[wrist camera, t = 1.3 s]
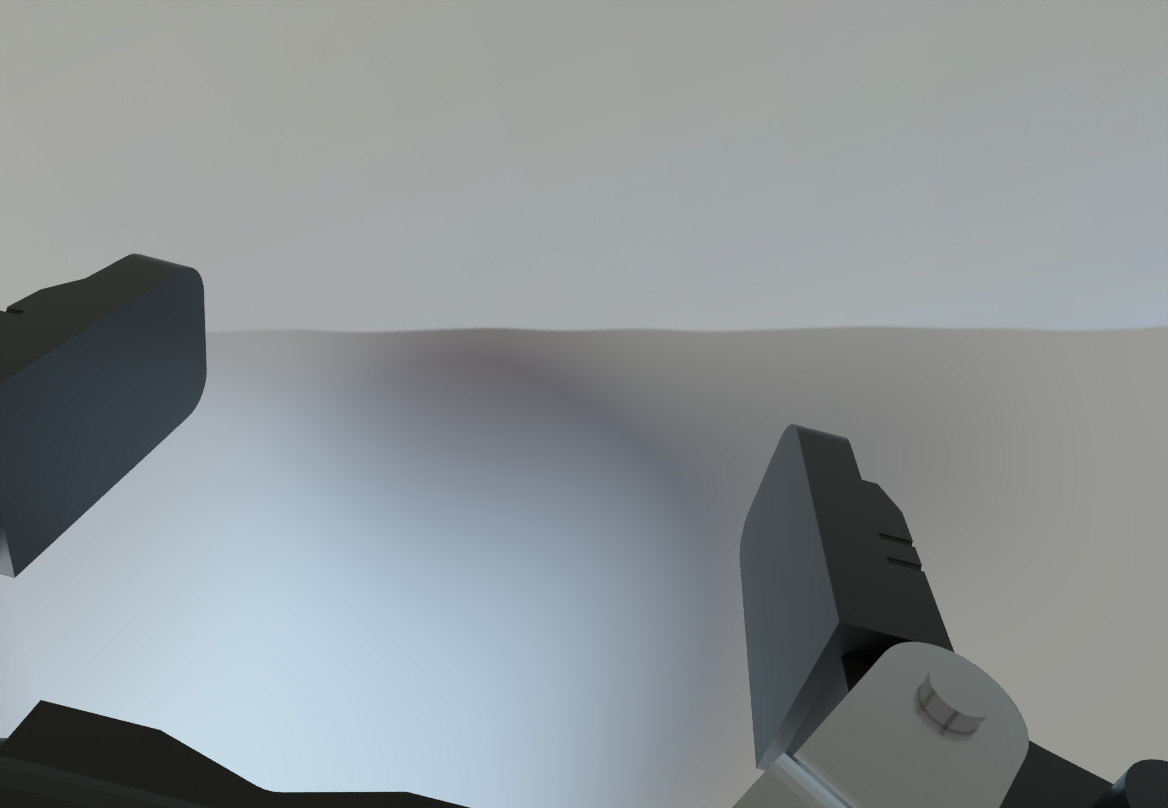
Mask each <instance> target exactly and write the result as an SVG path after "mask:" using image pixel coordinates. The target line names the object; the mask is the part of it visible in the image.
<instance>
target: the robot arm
mask: <svg viewBox="0 0 1168 808" xmlns="http://www.w3.org/2000/svg"><path fill="white" fill-rule="evenodd" d="M206 370H207V369H206V340H205V310H204V288H203V282H202V279H201V276H200V274H199V273H198V272H197V271H196V270H195V269H193V268H191V267H187V266H183V265H179V264H175V263H171V262H168V261H164V260H160V259H156V258H152V257H148V256H144V255H140V254H131V255H128V256H126V257H124V258H122V259H120V260H119V261H117V262H115V263H113V264H111V265H109V266H108V267H106V268H104V269H102V270H100V271H98V272H97V273H95V274H93V275H91V276H89V277H87V278H85V279H81V280H77V281H73V282H69V283H65V284H61V285H57V286H53V287H49V288H45V289H41V290H39V291H37V292H35V293H33V294H31V295H29V296H27V297H25V298H23V299H22V300H20V301H18V302H16V303H14V304H12V305H10V306H8V307H7V310H6V312H3V311H0V574H2V575H6V576H10V577H13V578H15V577H16V576H17V575H18V574H19V573H21V572H22V571H23V570H24V569H25V568H26V567H27V566H28V565H29V564H30V563H31V562H32V561H33V560H34V559H36V557H38V556H39V555H40V554H41V553H42V552H43V551H44V550H45V549H46V548H47V547H49V546H50V545H51V544H52V543H53V542H54V541H55V540H56V539H57V538H58V537H59V536H60V535H61V534H62V533H64V532H65V531H66V530H67V529H68V528H69V527H70V526H71V525H72V524H73V523H74V522H75V521H77V520H78V519H79V518H80V517H81V516H82V515H83V514H84V513H85V512H86V511H87V510H88V509H89V508H90V507H91V506H93V505H94V504H95V503H96V502H97V501H98V500H99V499H100V498H101V497H102V496H103V495H105V494H106V492H108V491H109V490H110V489H111V488H112V487H113V486H114V485H115V484H116V483H117V482H118V481H120V479H122V478H123V477H124V476H125V475H126V474H127V473H128V472H129V471H130V470H131V469H133V468H134V467H135V466H136V465H137V464H138V463H139V462H140V461H141V460H142V459H143V458H144V457H145V456H147V455H148V454H149V453H150V452H151V451H152V450H153V449H154V448H155V447H156V446H157V445H158V444H159V443H160V442H162V440H164V439H165V438H166V437H167V436H168V435H169V434H170V433H171V432H172V431H173V430H174V429H175V428H176V427H178V426H179V425H180V424H181V423H182V422H183V421H184V420H185V419H186V418H187V417H188V416H189V415H190V414H191V413H192V412H193V411H194V409H195V408H196V406H197V404H198V402H199V400H200V398H201V395H202V393H203V389H204V386H205V381H206ZM912 542H913V541H912V538H911V535H910V533H909V530H908V527H907V524H906V522H905V519H904V516H903V514H902V512H901V511H900V509H899V508H898V507H897V506H896V505H895V504H894V502H893V501H892V500H891V499H890V498H889V497H888V496H887V494H886V493H885V492H884V491H883V490H882V489H881V488H880V486H879V485H878V484H876V483H872V482H868V481H864V480H862V479H861V476H860V473H859V470H858V467H857V463H856V460H855V457H854V454H853V451H852V448H851V445H850V442H849V441H848V439H847V438H844V437H841V436H837V435H833V434H829V433H825V432H821V431H818V430H814V429H810V428H805V427H802V426H798V425H794V424H791V425H790V426H788V427H787V428H786V430H785V431H784V433H783V434H782V437H781V439H780V441H779V443H778V445H777V447H776V450H775V452H774V454H773V457H772V459H771V462H770V464H769V466H768V468H767V471H766V473H765V475H764V478H763V480H762V482H761V484H760V487H759V489H758V491H757V494H756V496H755V498H754V501H753V503H752V505H751V508H750V510H749V512H748V515H747V518H746V521H745V524H744V528H743V532H742V538H741V544H740V567H741V579H742V592H743V605H744V617H745V629H746V643H747V654H748V667H749V680H750V692H751V705H752V718H753V731H754V743H755V756H756V768H758V769H762V770H766V771H765V772H764V773H763V774H762V776H760V778H759V779H758V780H757V781H756V782H755V783H754V784H753V785H752V787H751V788H750V789H749V790H748V791H747V792H746V793H745V794H744V795H743V796H742V797H741V798H740V800H739V801H738V802H737V803H736V804H735V805H734V806H733V807H732V808H1168V762H1167V761H1163V760H1153V759H1150V760H1142V761H1139V762H1137V763H1135V764H1133V765H1132V766H1131V767H1130V768H1129V769H1128V770H1127V771H1126V772H1125V773H1124V774H1123V775H1122V777H1120V779H1118V780H1117V782H1116V783H1115V784H1112V783H1110V782H1108V781H1106V780H1104V779H1102V778H1100V777H1098V776H1096V775H1094V774H1092V773H1090V772H1089V771H1087V770H1084V769H1083V768H1081V767H1079V766H1077V765H1075V764H1073V763H1071V762H1069V761H1067V760H1065V759H1063V758H1061V757H1059V756H1057V755H1055V754H1053V753H1051V752H1050V751H1047V750H1046V749H1044V748H1042V747H1040V746H1038V745H1036V744H1035V743H1033V742H1031V741H1029V737H1028V732H1027V727H1026V725H1025V722H1024V719H1023V717H1022V715H1021V713H1020V712H1019V710H1018V708H1017V706H1016V705H1015V704H1014V702H1013V701H1012V699H1011V698H1010V697H1009V695H1008V694H1007V693H1006V692H1005V691H1004V690H1003V688H1002V687H1001V686H1000V685H999V684H998V683H997V682H996V681H995V680H993V679H992V678H991V677H990V676H989V675H988V674H987V673H986V672H984V671H983V670H981V669H980V668H979V667H978V666H976V665H975V664H973V663H971V662H970V661H969V660H967V659H965V658H963V657H962V656H960V655H958V654H956V653H954V650H953V647H952V645H951V642H950V640H949V637H948V634H947V632H946V629H945V626H944V624H943V621H942V618H941V615H940V613H939V610H938V608H937V605H936V602H935V599H934V597H933V594H932V591H931V589H930V586H929V583H928V581H927V578H926V576H925V573H924V572H923V571H921V566H922V565H921V562H920V559H919V557H918V554H917V551H916V548H915V547H912ZM0 808H469V807H465V806H461V805H457V804H453V803H449V802H445V801H441V800H437V799H433V798H429V797H425V796H421V795H417V794H413V793H409V792H298V793H297V792H291V793H290V792H284V793H283V792H272V791H269V790H264V789H262V788H260V787H258V786H256V785H254V784H252V783H251V782H249V781H247V780H245V779H244V778H242V777H240V776H239V775H237V774H235V773H233V772H232V771H230V770H228V769H227V768H225V767H223V766H221V765H220V764H218V763H216V762H214V761H213V760H211V759H209V758H207V757H206V756H204V755H202V754H201V753H199V752H197V751H196V750H194V749H192V748H190V747H189V746H187V745H185V744H183V743H181V742H180V741H178V740H177V739H175V738H173V737H171V736H169V735H168V734H166V733H164V732H163V731H161V730H158V729H154V728H150V727H146V726H142V725H138V724H134V723H130V722H126V721H122V720H118V719H114V718H110V717H106V716H102V715H98V714H94V713H90V712H86V711H82V710H78V709H74V708H70V707H66V706H62V705H58V704H54V703H50V702H46V701H42V700H40V702H39V703H38V704H37V705H36V706H35V707H34V709H33V710H32V711H31V712H30V713H29V714H28V715H27V717H26V718H25V719H24V720H23V721H22V722H21V724H20V725H19V726H18V727H17V728H16V729H15V730H14V732H13V733H12V734H11V735H10V736H9V738H0Z"/></svg>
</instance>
